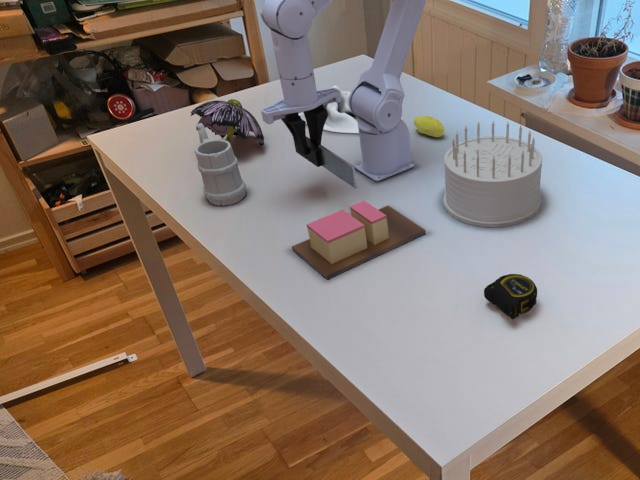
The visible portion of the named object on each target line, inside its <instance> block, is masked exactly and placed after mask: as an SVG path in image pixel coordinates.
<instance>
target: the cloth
mask: <svg viewBox="0 0 640 480" xmlns="http://www.w3.org/2000/svg"><path fill="white" fill-rule="evenodd" d="M331 88H336V89H338V90H339V91H340V94H341V102H338V103H336V102H333V103H330V104H326V105H323V106H324V109H326V110H327V111H328V117H327V119H326V122H325V125H324V128H323V131H327V132H331V133H338V134H354V135H355V134H357V135H359V129H358V122H357V116H355V115H354V114H353V113H352V112H351V110H350V108H349V96H350V93H351V91H348V90H341V89H340V88H339V86H338V85H333V86H331V87H330V88H329V89H331ZM298 114H299V116H301V119H302V120H304V121H305V122H306V119H305V116H304V113H303V112H301V113H298ZM306 126H307V122H306Z"/></svg>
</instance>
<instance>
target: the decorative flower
mask: <svg viewBox="0 0 640 480" xmlns="http://www.w3.org/2000/svg"><path fill="white" fill-rule="evenodd" d="M194 115H197V116H198V117H200V119H199V120H198V122H197V124H200V123H202V124H203V125H204V128H205V129H207V130H209V131H211V133H214V135H215V136H220V138H221V140H225V141H228V142H229V143H230V144H231V142H232V139H233V137H240V138H241V139H243V140H246V139H247V138H248V137H249V134H250V132H251V133H253V134H254V136H255V138H256V141H257V143H258V145H259V146H260V147H263V146H264V145H265V138H264V133H263V130H262V128H261V126H260V124H259V122H258V120H257V119H256V118H255V116H254V115H253V114H252V113H251V112H250V111H249V110H247V109H246V108H244V107H243V105H242V103H241V102H240V101H239V100H238V99H237V100H236V99H233V98H232V99H228V100H227V101H225V100H211V101H207V102H203V103H201V104H200V105H198V106H196V107H195V108H193V109H192V110H191V112H190V117H192V116H194ZM195 130H196V131H198V129H197V126H196V127H195ZM224 138H225V139H224ZM232 150H233V151H234V149H233V148H232Z"/></svg>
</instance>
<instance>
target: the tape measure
mask: <svg viewBox="0 0 640 480" xmlns="http://www.w3.org/2000/svg"><path fill="white" fill-rule="evenodd" d="M483 296H484V298H485V300H486V301H487V302H489V303H490V304H492V305H493V306H495V308H497V309H499V310H500V311H501V312H502V313H504V314H505V316H507V317H508V318H509V319H511V320H516V319H517V318H518V317H520V315H523V314H526V313H528V312H530V311H531V310H532V309H533V308H534V307H535V306H536V304H537V298H538V287H537V285H536V283H535V282H534V281H533V280H532V279H531V278H529V277H528V276H525V275H523V274H519V273H518V274H517V273H509V274H503V275H501V276H500V277H498V278H497V279H495V280H494V281H493V282H492V283H490V284H487V285H486V286H485V288H484V289H483Z"/></svg>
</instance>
